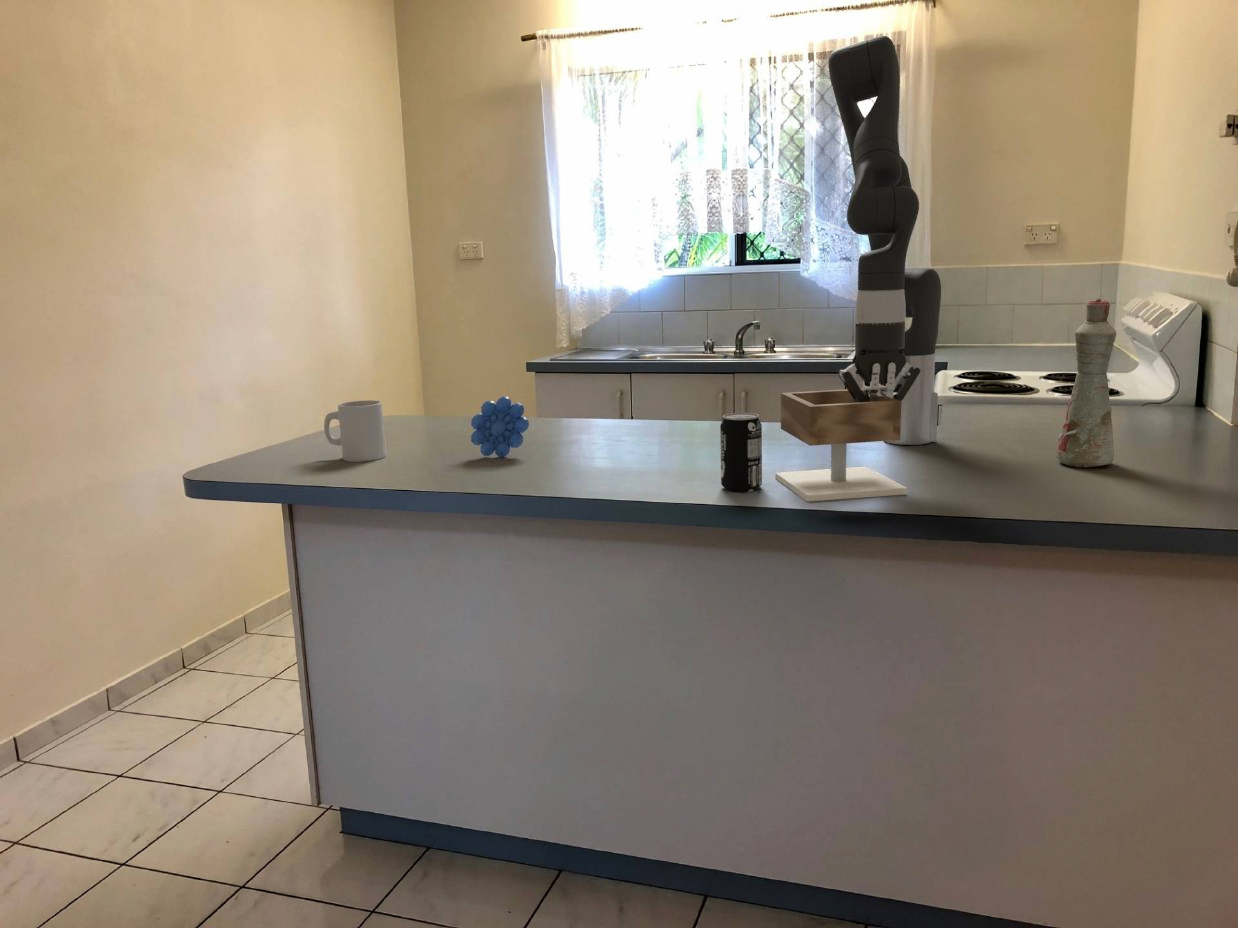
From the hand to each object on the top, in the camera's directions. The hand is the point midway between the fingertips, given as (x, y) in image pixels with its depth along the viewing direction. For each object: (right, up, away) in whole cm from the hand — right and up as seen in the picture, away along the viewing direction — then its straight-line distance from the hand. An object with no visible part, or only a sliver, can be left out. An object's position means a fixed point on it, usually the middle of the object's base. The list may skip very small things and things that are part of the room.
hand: (877, 428), depth 152 cm
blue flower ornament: (-65, -4, +35) cm, 73 cm away
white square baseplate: (-6, -9, +1) cm, 11 cm away
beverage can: (-22, -10, +2) cm, 24 cm away
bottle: (+38, -6, +10) cm, 40 cm away
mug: (-94, -5, +39) cm, 102 cm away
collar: (-7, -1, -1) cm, 7 cm away
